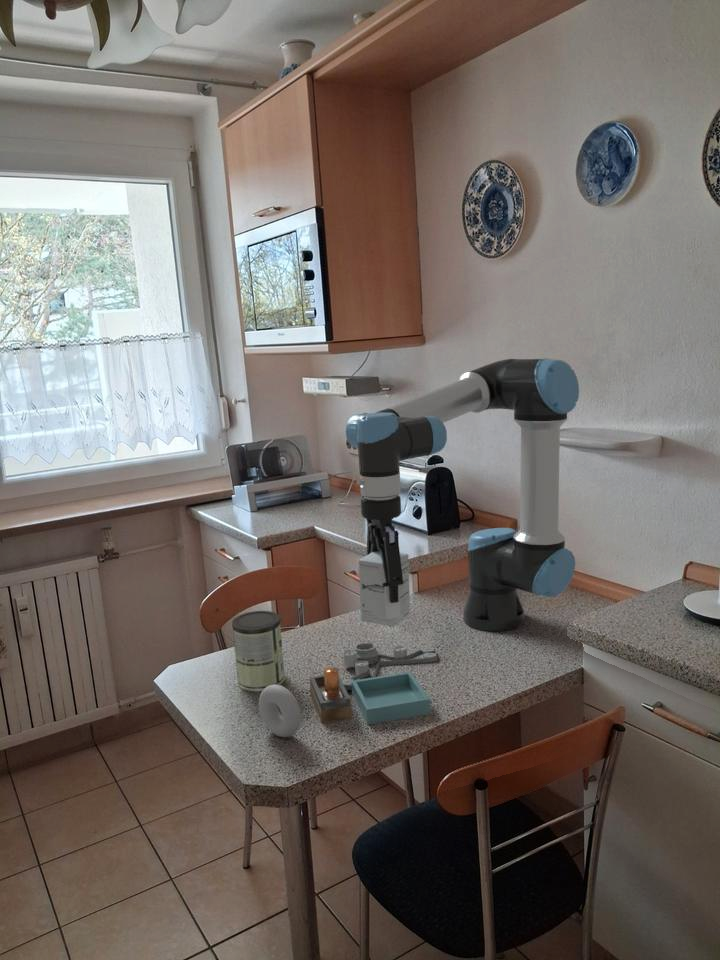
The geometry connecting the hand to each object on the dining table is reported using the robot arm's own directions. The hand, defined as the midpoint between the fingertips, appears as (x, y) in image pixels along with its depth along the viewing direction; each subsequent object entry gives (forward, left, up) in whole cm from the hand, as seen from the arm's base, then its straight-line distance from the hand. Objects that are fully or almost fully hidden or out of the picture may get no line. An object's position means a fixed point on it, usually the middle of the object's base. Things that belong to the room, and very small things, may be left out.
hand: (385, 607), depth 150 cm
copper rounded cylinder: (+11, 0, -18) cm, 21 cm away
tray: (0, 0, -20) cm, 20 cm away
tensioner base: (+11, -3, -20) cm, 24 cm away
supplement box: (0, 0, -2) cm, 2 cm away
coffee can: (+23, -19, -21) cm, 37 cm away
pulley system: (-3, -18, -21) cm, 28 cm away
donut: (+22, +5, -21) cm, 31 cm away
